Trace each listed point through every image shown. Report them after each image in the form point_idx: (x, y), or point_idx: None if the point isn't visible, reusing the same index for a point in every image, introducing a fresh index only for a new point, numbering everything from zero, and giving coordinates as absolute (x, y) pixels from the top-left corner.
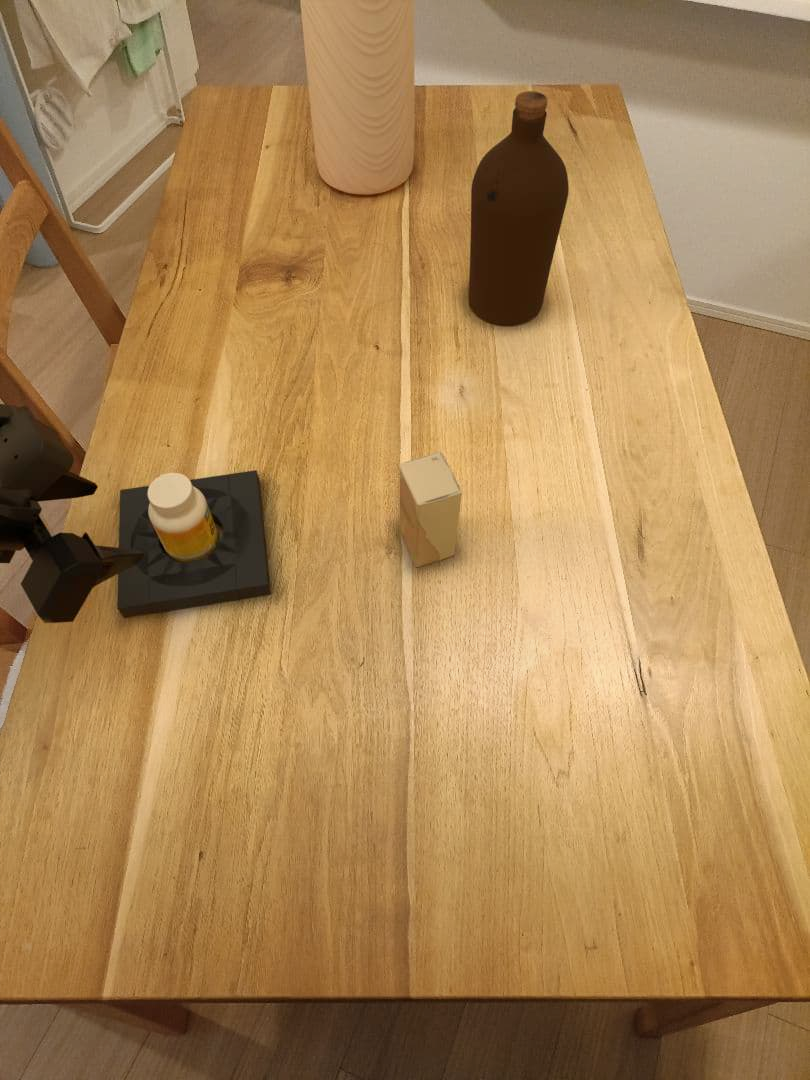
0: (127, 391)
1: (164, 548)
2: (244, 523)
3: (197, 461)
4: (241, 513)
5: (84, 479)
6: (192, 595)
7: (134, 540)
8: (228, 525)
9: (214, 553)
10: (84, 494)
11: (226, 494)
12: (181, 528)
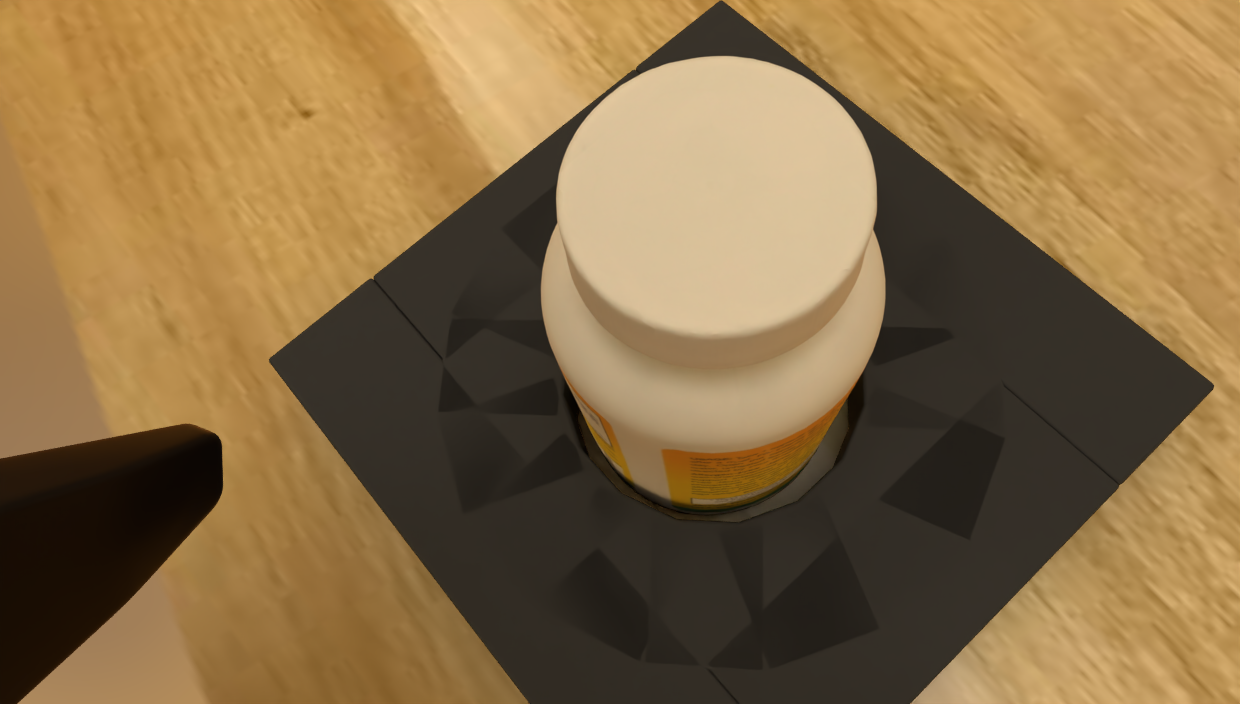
0: (27, 27)
1: (636, 488)
2: None
3: (449, 107)
4: None
5: (95, 453)
6: (970, 633)
7: (500, 535)
8: None
9: (879, 389)
10: (166, 543)
11: None
12: (852, 377)
